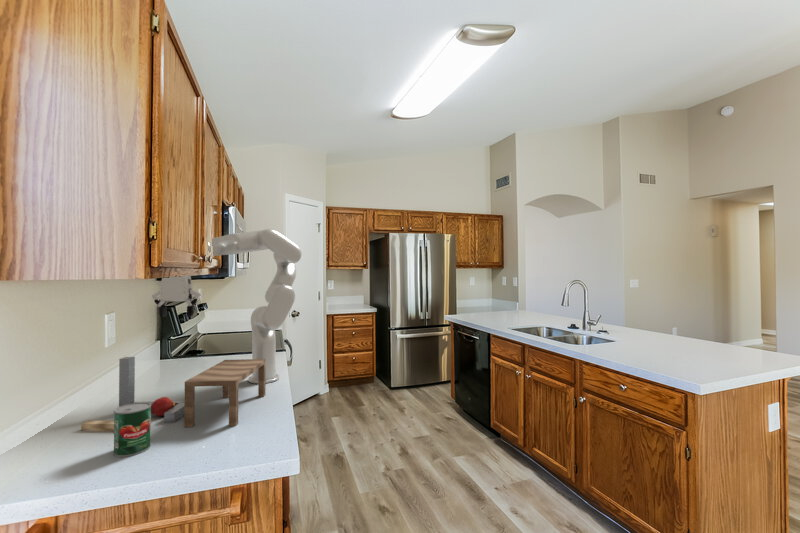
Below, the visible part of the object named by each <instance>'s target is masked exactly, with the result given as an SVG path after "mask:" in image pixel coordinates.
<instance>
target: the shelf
mask: <svg viewBox="0 0 800 533" xmlns="http://www.w3.org/2000/svg"><path fill="white" fill-rule="evenodd" d="M257 369H258V385H257V386H258V389H257V391H258V392H257V393H258V394H257V396H258V397H260V398H264V397H265V396H266V384H267V383H266V359H251V358H250V359H248V358H247V359H245V358H244V359H224V360H221V361H220V362H218V363H216V364H215V365H213V366H211V367H209V368H207V369H206V370H204V371H202V372H200V373H198V374H196V375H194V376H192V377H191V378H189V379H187V380H185V381H184V401H185V411H184V416H183V417H184V419H183V420H184V421H183V422H184V426H183V427H184V428H192V427H193V426H195V424H196V423H195V418H196V416H195V415H196V411H195V409H196V405H195V404H196V403H195V402H196V401H195V400H196V396H195V395H196V390H195V389H196V388H197V387H222V398H223V399H224V398H225V399H226V398H228V427H237V426H238V424H239V384H240V383H242V382H243V381H244V380H245V379H248V378H249V377H250V376H252V373H253V372H254V371H256V370H257ZM195 387H196V388H195Z"/></svg>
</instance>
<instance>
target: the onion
mask: <svg viewBox="0 0 800 533" xmlns="http://www.w3.org/2000/svg"><path fill="white" fill-rule="evenodd" d="M173 401H174V400H172V399H171V398H170V397H169V396H161V397H159V398H157V399H155V400H154V401H152V402H153V404H152V405H151V412H152V414H153V415H155V416H156V417H164V413H165V412H166V411H168V410H169V409H171V408H173V407H174V405H175V403H174V402H173Z"/></svg>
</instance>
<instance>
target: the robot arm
mask: <svg viewBox="0 0 800 533" xmlns="http://www.w3.org/2000/svg"><path fill="white" fill-rule="evenodd" d="M211 238H212V246H213V256H212V257H215V256H225V255H226V256H227V255H228V256H229V255H239V254H245V253H246V254H247V253H252V252H258V251H264V250H269V251H271V252H273V259H274V262H275V263H276V268H277V269H276V273H275V275H274V277H273V280H272V281H271V283H270V284H269V286H268V288H267V290H266V291H265V295H264V299H265V301H266V302H267V305H266V306H264V305H263V306H258V307H256V308H255V309H254V310H253V311H252V313H251V316H250V325H251V333H252V334H251V336H252V338H251V339H252V341H251V342H252V343H251V344H252V345H251V346H252V349H251V351H252V352H251V353H252V354H251V355H252V356H251V358H252V359H266V384H269V383H272V382H276V381H278V380H279V379H280V375H279V374H278V373H277V372H276V370H277V369H276V368H277V367H276V365H277V364H276V363H277V362H276V361H277V360H276V358H277V357H276V356H277V355H276V354H277V353H276V352H277V351H276V347H277V346H276V344H277V343H276V341H277V340H276V338H277V336H276V330H278V329H279V328H281V327H282V325H283V324H284V322H285V320H286V319H287V317H288V314H289V313H290V311H291V309H292V307H293V304H294V302H295V301H296V300H295V299H296V293H295V290H294V289H293V284H294V282H295V280H296V277H297V276H296V275H297V269H296V268H297V267H296V263H298V262H299V261H301V258H302V250H301V248H300V246H298V245H297V244H296V243H294V242H293V241H291V240H290V239H289V238H287V237H286V236H285V235H283V234H281V233H280V232H278V231H277V230H275V229H272V228H266V229H262V230H255V231H253V230H252V231H245V232H244V231H243V232H235V233H234V232H233V233H229V234H225V235H222V236H217V237H211ZM208 251H209V253H210V252H211V245H210V243H209V242H208ZM188 275H189V276H181V277H169V278H161V282H160V290H159V291H158V292H156V293H154V294H152V295H151V298H152V300H153V301H154V303H155V304H156V305H157V307H158V308H159V310H158V311H159V314H158V315H159V317H160V318H165V317H168V316H167V315H168V312H167V311H168V310H167V309H168V307H167V306H166V305H167V303H169V302H171V303H172V302H184V303H186V305H187V306H186V317H187V318H190V317H193V316H194V312H195V305H196V304H197V303H198V302H199V300H200V298H201V293H200V292H197V291H195V290H194V288H193V281H192V276H191V275H190V274H188ZM159 297H160V299H159ZM247 380H248V382H249V383H251V384H258V369H257V370H256V371H254V372H253V373H252V374H251V375H250V376H248V377H247Z"/></svg>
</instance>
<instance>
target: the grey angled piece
mask: <svg viewBox="0 0 800 533" xmlns="http://www.w3.org/2000/svg"><path fill="white" fill-rule="evenodd" d="M135 360H136V358H135V356H124V357H121V358H119V367H118V368H119V371H118V374H119V375H118V378H119V379H118V384H119V385H118V407H120V406H123V405H127V404H132V403H140V402H141V401H135V386H136V385H135V384H136V383H135V381H136V380H135V378H136V373H135V372H136V368H135V366H136V361H135ZM172 401H173V402H174V403H175V405H174V407H173V408H171V409H169V410H168V411H166V412H165V413H164V416H163V423H165V424H167V423H170V424H171V423H175V422H177V421H178V420H179V419H181V418H182V417H184V411H185V400H172ZM145 402H146V403H150V404H151V405H152V404H153V402H154V401H145ZM151 413H152V412H151ZM152 414H153V413H152Z"/></svg>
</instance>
